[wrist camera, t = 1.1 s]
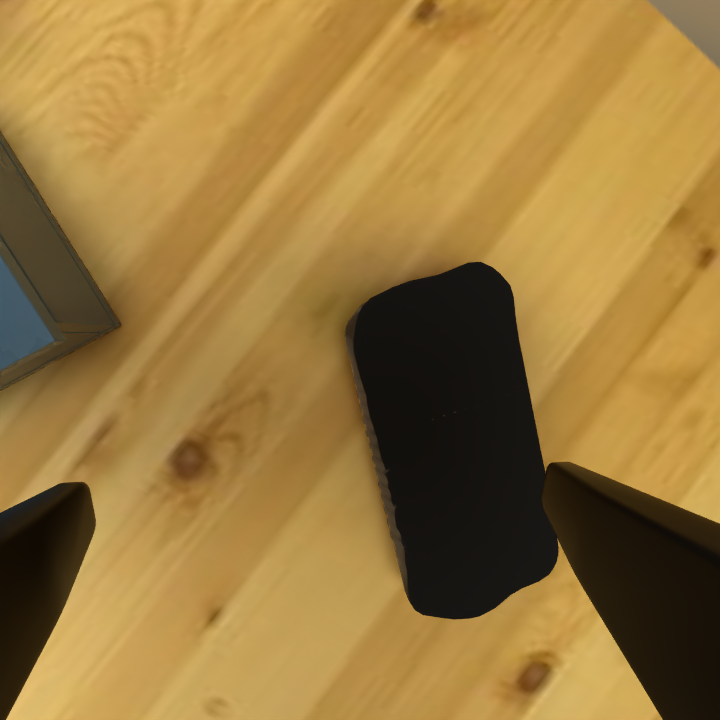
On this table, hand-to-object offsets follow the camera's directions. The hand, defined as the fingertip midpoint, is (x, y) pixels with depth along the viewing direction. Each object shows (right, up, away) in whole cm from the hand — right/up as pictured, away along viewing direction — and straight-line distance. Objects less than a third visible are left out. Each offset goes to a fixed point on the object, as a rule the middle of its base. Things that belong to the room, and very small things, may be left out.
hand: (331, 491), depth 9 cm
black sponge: (+5, -1, +16) cm, 16 cm away
